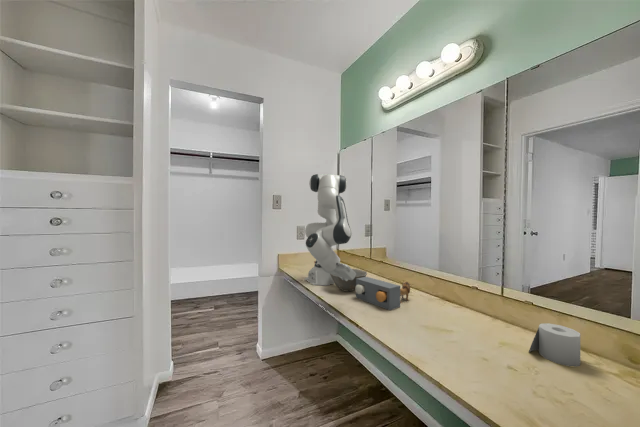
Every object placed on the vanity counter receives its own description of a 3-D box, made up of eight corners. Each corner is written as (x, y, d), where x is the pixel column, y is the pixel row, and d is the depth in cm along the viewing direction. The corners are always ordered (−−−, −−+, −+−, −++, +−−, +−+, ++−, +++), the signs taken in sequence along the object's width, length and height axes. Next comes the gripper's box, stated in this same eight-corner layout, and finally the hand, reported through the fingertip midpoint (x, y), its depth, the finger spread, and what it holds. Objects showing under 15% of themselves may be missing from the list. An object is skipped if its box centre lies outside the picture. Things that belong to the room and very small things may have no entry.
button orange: (375, 300, 119) (375, 290, 119) (382, 298, 122) (382, 288, 122) (383, 303, 115) (383, 292, 115) (390, 301, 118) (390, 291, 118)
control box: (355, 297, 133) (356, 278, 133) (366, 294, 138) (366, 276, 138) (389, 310, 115) (389, 288, 115) (400, 306, 120) (400, 285, 120)
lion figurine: (403, 296, 135) (403, 280, 135) (412, 299, 131) (412, 281, 132) (388, 303, 125) (388, 284, 125) (398, 305, 121) (398, 287, 121)
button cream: (355, 293, 130) (355, 283, 130) (361, 291, 133) (361, 282, 133) (361, 295, 127) (361, 285, 127) (368, 293, 129) (368, 284, 129)
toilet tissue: (520, 351, 81) (520, 324, 81) (557, 349, 82) (557, 323, 82) (548, 367, 72) (548, 337, 72) (589, 365, 73) (589, 336, 73)
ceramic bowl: (324, 292, 141) (324, 274, 141) (334, 282, 163) (334, 267, 163) (363, 297, 134) (363, 278, 134) (369, 285, 156) (369, 269, 156)
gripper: (349, 259, 110) (364, 278, 116) (321, 253, 127) (336, 270, 133) (341, 271, 108) (357, 290, 113) (314, 263, 124) (329, 280, 130)
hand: (345, 279), depth 123 cm, fingers closed
